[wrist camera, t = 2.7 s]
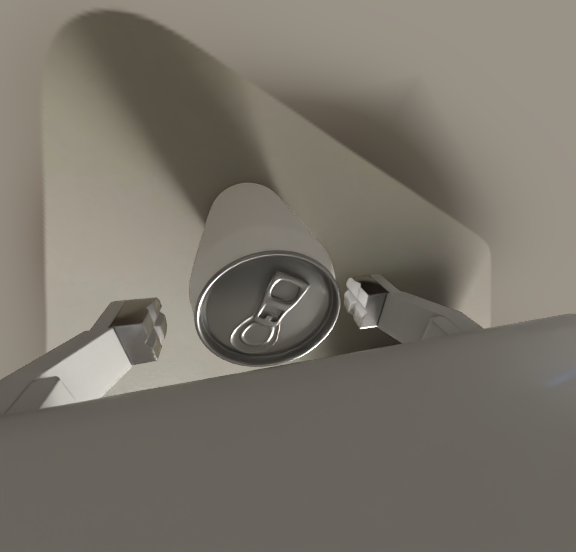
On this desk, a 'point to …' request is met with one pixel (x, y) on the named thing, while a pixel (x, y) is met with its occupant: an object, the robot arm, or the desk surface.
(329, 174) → the desk surface
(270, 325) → the can
